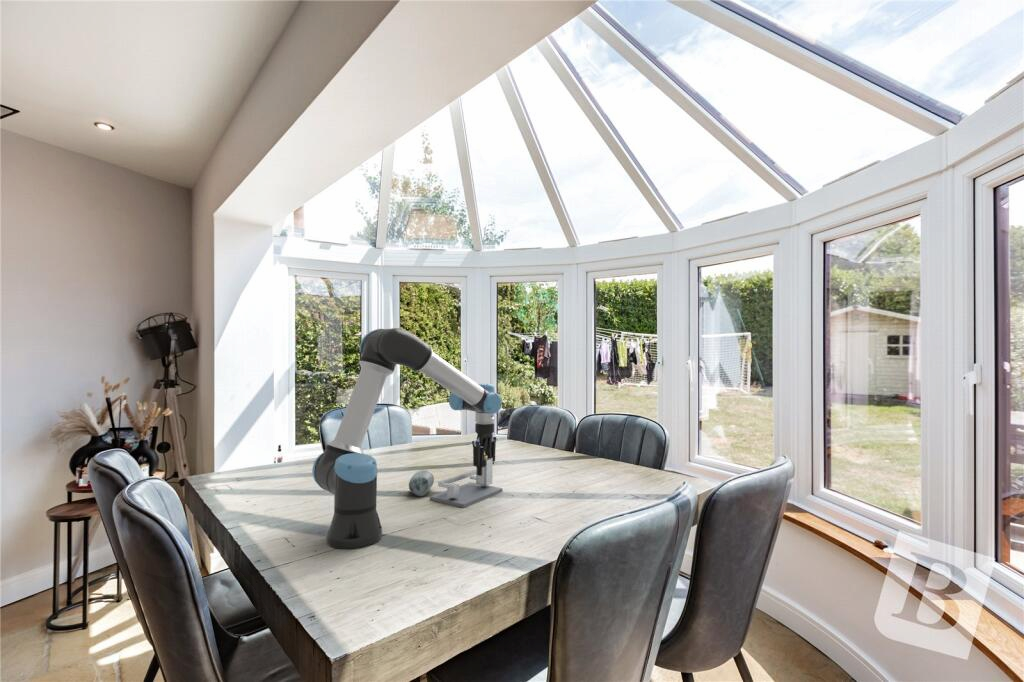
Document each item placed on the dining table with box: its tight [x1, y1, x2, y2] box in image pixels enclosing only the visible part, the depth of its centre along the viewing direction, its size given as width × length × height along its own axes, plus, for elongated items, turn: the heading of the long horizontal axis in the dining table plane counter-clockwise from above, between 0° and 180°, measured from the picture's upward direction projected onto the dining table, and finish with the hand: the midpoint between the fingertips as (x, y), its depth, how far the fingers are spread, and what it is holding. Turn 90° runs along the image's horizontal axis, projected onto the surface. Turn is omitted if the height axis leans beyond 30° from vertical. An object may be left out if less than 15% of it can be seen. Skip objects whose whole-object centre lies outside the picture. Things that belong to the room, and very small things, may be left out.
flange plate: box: [429, 481, 503, 509], centre depth 179 cm, size 24×16×1 cm, turn 147°
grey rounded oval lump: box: [408, 469, 435, 497], centre depth 182 cm, size 14×10×10 cm
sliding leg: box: [469, 454, 494, 486], centre depth 187 cm, size 4×9×12 cm, turn 57°
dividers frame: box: [437, 469, 476, 499], centre depth 180 cm, size 24×9×5 cm, turn 147°
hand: (484, 481), depth 186 cm, fingers closed on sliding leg, 4 cm apart
